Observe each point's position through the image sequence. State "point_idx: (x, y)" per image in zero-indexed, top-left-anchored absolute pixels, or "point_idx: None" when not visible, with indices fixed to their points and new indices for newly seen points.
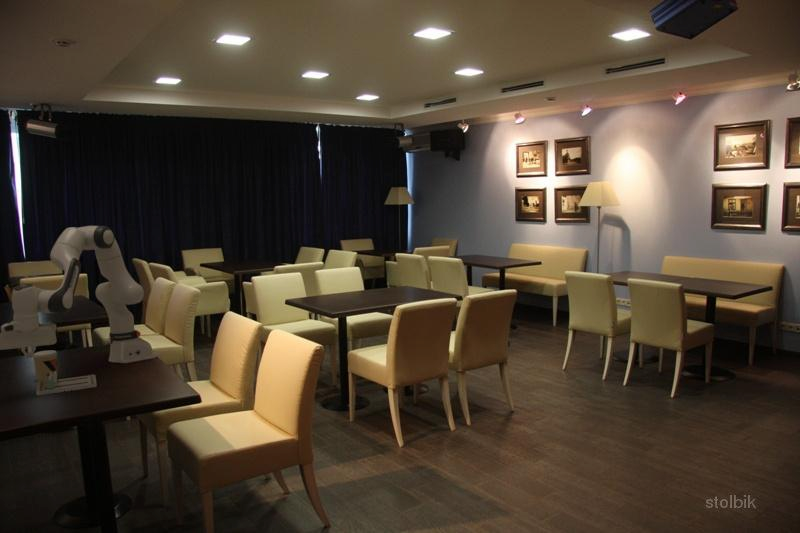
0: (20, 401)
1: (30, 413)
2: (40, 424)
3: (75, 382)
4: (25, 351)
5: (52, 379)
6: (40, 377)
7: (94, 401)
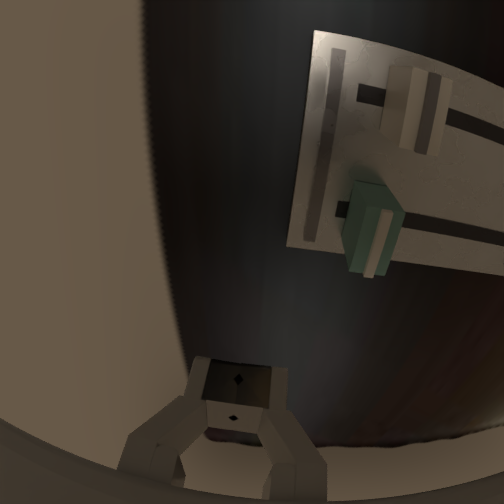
0: (216, 278)
1: None
2: None
3: (479, 202)
4: (186, 422)
5: (380, 273)
6: None
7: (415, 395)
